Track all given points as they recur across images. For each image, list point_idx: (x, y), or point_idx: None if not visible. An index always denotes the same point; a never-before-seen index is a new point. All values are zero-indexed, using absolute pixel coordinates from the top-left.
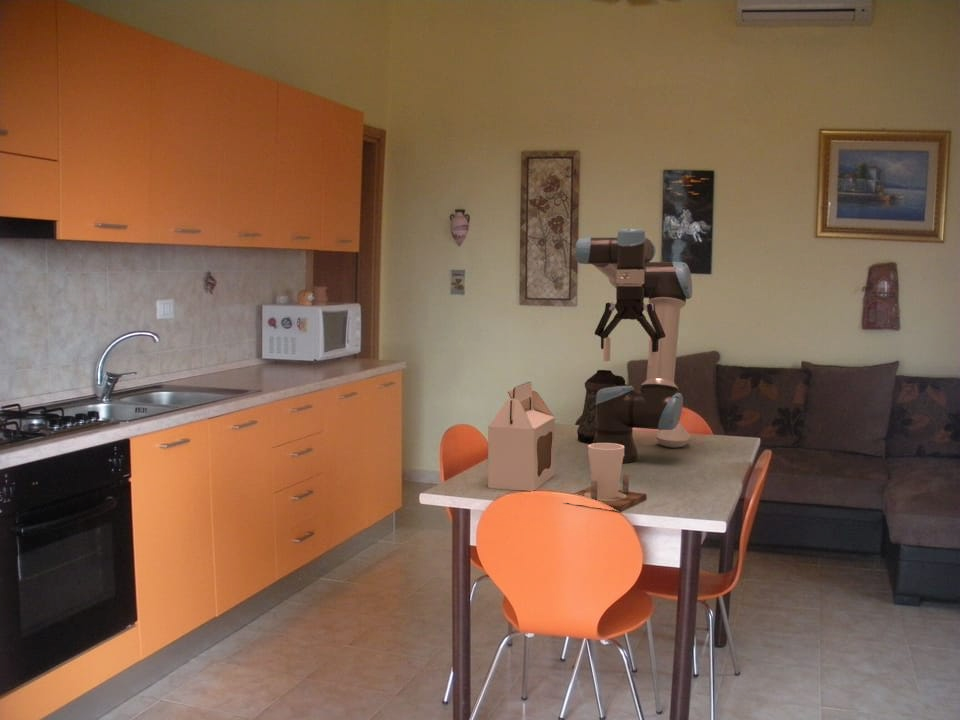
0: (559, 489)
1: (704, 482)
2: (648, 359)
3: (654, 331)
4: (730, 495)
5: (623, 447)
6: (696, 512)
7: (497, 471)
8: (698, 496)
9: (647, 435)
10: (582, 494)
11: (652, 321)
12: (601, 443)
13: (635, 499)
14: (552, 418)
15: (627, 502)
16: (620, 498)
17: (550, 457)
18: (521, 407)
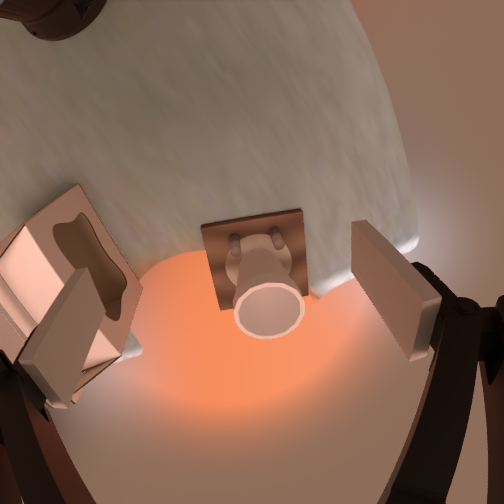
0: (156, 251)
1: (311, 31)
2: (361, 285)
3: (473, 361)
4: (387, 95)
5: (302, 300)
6: (386, 221)
7: None
8: (354, 133)
9: None
10: (228, 281)
11: (497, 462)
12: (244, 298)
13: (305, 249)
14: (35, 241)
15: (306, 272)
16: (287, 264)
17: (75, 217)
18: (85, 384)
